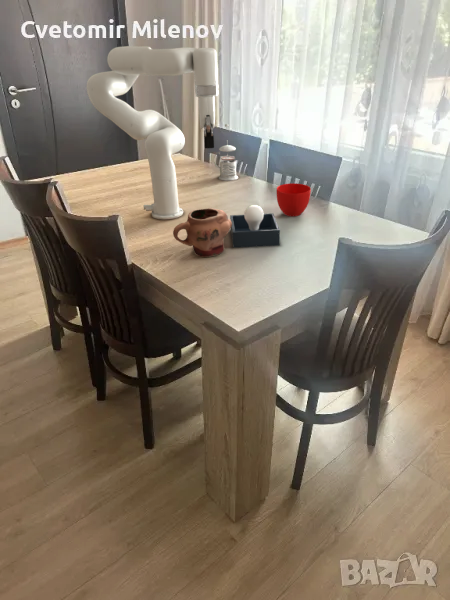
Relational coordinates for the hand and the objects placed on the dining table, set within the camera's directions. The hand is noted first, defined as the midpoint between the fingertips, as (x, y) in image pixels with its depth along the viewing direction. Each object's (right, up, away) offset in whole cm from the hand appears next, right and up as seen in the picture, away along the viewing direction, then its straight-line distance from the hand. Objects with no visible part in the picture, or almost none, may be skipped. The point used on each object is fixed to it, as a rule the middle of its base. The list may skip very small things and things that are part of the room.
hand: (209, 144), depth 155 cm
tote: (+16, -32, +1) cm, 36 cm away
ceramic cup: (+33, -19, +21) cm, 43 cm away
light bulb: (+16, -32, +1) cm, 36 cm away
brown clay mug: (-1, -39, -9) cm, 40 cm away
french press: (+6, +6, +64) cm, 64 cm away
